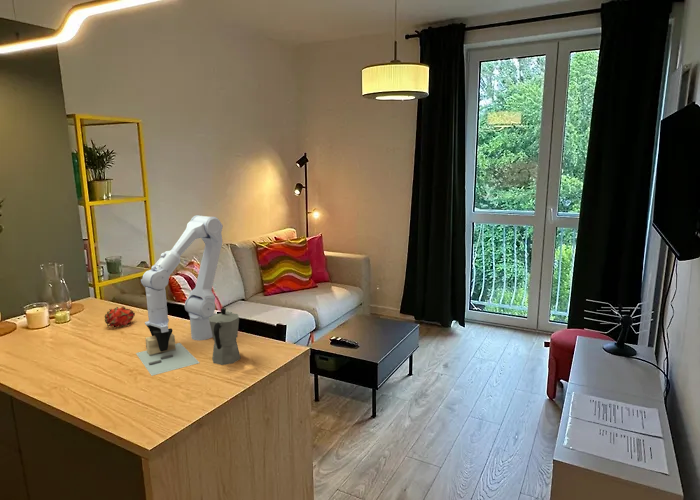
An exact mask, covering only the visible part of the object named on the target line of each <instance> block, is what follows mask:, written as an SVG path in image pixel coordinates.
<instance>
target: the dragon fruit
mask: <svg viewBox="0 0 700 500" xmlns="http://www.w3.org/2000/svg"><path fill="white" fill-rule="evenodd" d="M135 313H136V312H134V311H133V310H132V309H130V308H126V307H125V306H121V307H120V308H119V307H118V306H116V307H115V308H109V310H108V311H106V314H105V315H104V322H105V324H106V326H107V327H113V329H116V328H117V327H118V328H124V327H125V326H130V325H131V324H132V320H133V319H134V318H135Z"/></svg>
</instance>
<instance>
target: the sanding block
mask: <svg viewBox="0 0 700 500" xmlns="http://www.w3.org/2000/svg"><path fill="white" fill-rule="evenodd" d="M175 344H176V338H175V334H174V333H173V332H172V333H171V336H170V338H169V344H168V349H167V350H165V351H160V349H159V346H158V342H157V339H156V337H155V336H152V335H151V336H147V337H145V346H146V347H145V348H146V351H147V353H148V354H149V356H153V355H157V354H161V353H166V352H170V351H174V350H176V347H175Z"/></svg>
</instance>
